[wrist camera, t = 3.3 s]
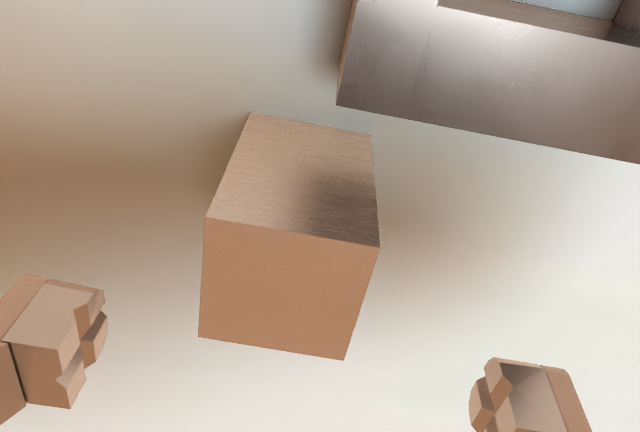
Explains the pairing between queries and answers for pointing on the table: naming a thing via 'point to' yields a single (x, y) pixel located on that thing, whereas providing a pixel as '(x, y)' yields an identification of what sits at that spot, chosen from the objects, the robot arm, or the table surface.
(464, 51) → the rail
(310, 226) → the block
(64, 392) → the robot arm
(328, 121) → the table surface
